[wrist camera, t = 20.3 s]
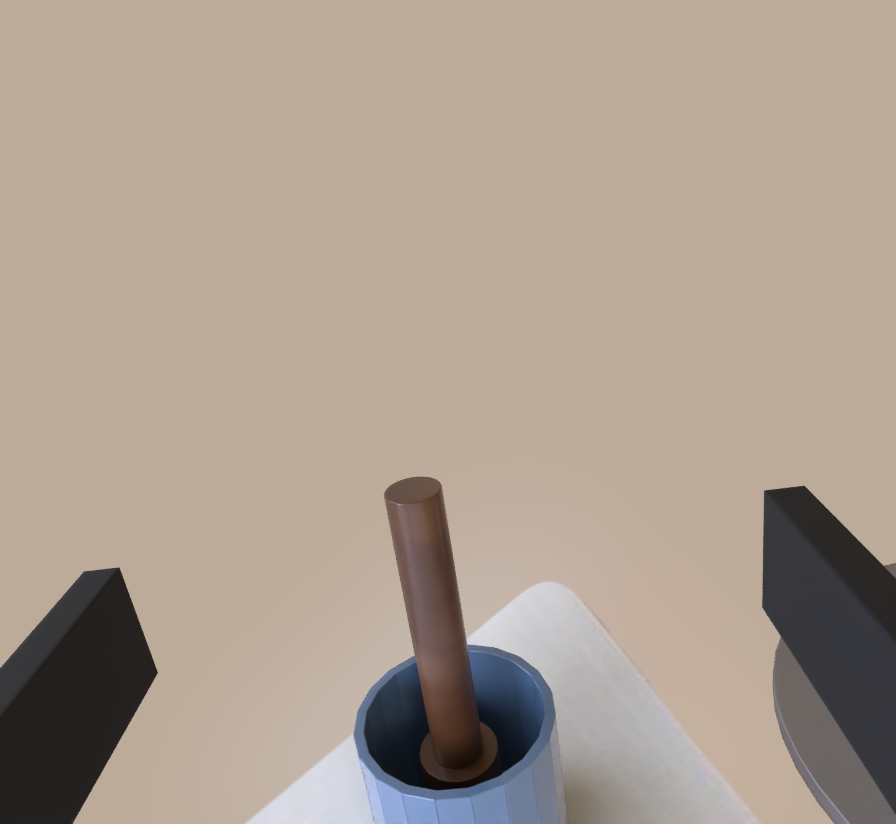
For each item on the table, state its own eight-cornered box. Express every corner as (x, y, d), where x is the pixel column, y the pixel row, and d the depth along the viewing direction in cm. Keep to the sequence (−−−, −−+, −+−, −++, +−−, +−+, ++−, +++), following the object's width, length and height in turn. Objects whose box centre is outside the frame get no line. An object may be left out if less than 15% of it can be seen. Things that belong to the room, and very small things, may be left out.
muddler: (508, 801, 38) (458, 464, 31) (514, 870, 34) (458, 506, 27) (438, 808, 38) (372, 474, 31) (436, 876, 34) (361, 517, 27)
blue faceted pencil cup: (557, 764, 40) (542, 635, 37) (584, 936, 32) (568, 787, 29) (395, 779, 41) (367, 654, 38) (378, 952, 32) (339, 809, 29)
